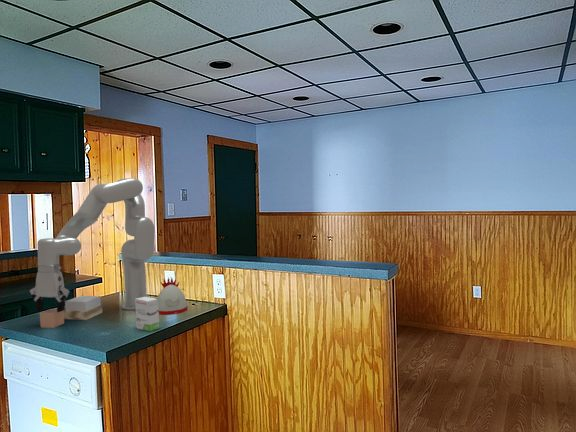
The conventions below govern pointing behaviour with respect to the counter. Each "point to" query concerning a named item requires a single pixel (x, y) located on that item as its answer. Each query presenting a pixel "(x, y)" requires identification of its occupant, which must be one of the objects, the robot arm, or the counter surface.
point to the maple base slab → (83, 313)
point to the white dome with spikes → (171, 299)
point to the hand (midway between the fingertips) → (50, 310)
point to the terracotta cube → (51, 318)
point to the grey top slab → (82, 303)
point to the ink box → (147, 313)
